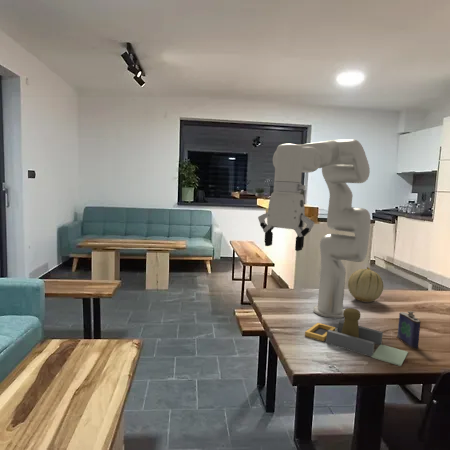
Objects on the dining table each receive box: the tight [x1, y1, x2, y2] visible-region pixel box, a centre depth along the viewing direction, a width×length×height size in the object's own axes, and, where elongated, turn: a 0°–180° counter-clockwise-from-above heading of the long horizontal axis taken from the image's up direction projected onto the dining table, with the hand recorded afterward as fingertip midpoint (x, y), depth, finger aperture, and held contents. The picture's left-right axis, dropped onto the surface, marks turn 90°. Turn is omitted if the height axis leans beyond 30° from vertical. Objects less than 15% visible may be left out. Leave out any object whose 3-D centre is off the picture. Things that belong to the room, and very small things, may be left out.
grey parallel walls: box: [325, 320, 384, 358], centre depth 117 cm, size 12×14×4 cm
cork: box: [342, 307, 361, 338], centre depth 117 cm, size 6×6×11 cm
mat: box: [371, 344, 409, 367], centre depth 110 cm, size 11×8×1 cm
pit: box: [304, 322, 337, 342], centre depth 123 cm, size 11×6×2 cm, turn 144°
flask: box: [396, 310, 421, 350], centre depth 119 cm, size 9×3×11 cm, turn 8°
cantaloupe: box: [347, 266, 384, 303], centre depth 163 cm, size 15×15×15 cm
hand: (283, 247), depth 106 cm, fingers open, 9 cm apart
